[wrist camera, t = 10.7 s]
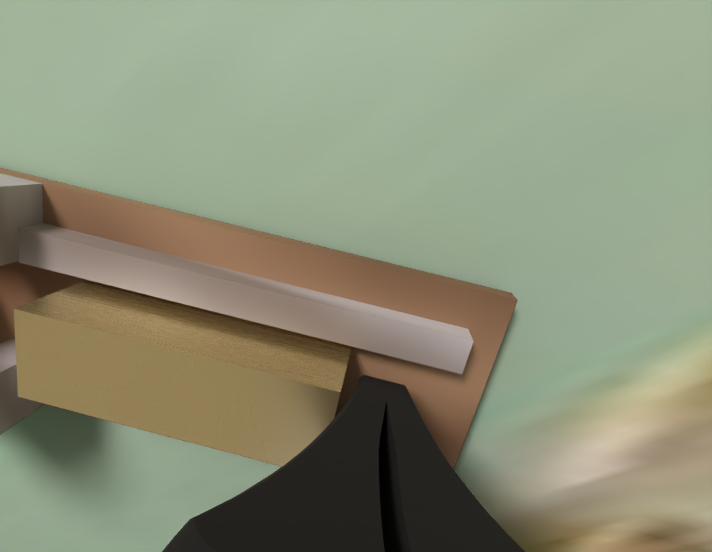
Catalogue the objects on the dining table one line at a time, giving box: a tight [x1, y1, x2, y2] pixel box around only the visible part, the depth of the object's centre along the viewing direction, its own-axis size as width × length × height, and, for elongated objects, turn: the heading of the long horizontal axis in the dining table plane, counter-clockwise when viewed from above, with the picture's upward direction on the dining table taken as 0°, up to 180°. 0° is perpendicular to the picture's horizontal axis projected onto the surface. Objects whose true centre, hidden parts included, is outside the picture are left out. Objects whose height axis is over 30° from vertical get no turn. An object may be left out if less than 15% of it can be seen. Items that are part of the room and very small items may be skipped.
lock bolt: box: [14, 280, 352, 466], centre depth 11 cm, size 2×8×2 cm, turn 77°
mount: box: [0, 168, 517, 470], centre depth 11 cm, size 8×21×3 cm, turn 77°
